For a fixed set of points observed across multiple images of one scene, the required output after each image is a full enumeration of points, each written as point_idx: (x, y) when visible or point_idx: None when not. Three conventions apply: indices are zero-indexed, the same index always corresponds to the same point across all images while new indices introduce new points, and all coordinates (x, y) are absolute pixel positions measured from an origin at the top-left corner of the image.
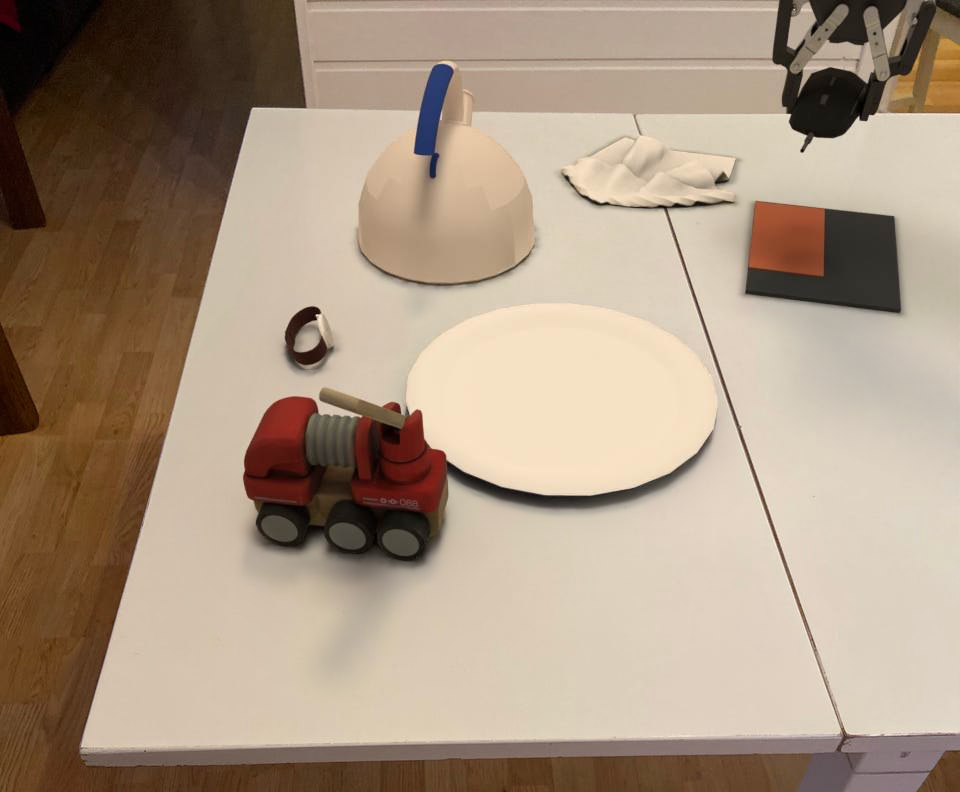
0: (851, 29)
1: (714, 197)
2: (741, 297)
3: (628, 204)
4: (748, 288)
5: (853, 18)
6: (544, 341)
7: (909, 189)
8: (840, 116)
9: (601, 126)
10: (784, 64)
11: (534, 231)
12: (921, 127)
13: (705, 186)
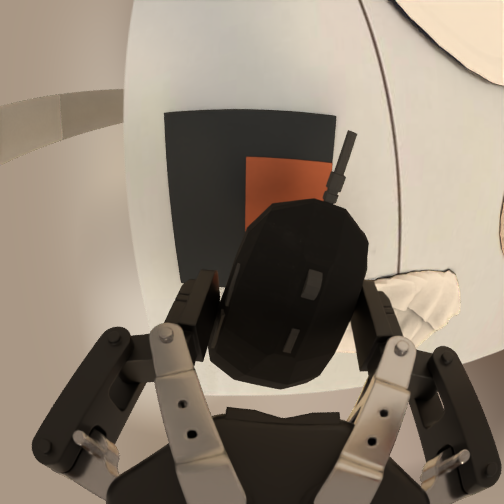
0: (278, 451)
1: None
2: (339, 108)
3: (429, 272)
4: (333, 119)
5: (278, 482)
6: (496, 40)
7: None
8: (264, 245)
9: None
10: (421, 353)
11: (501, 216)
12: None
13: None
